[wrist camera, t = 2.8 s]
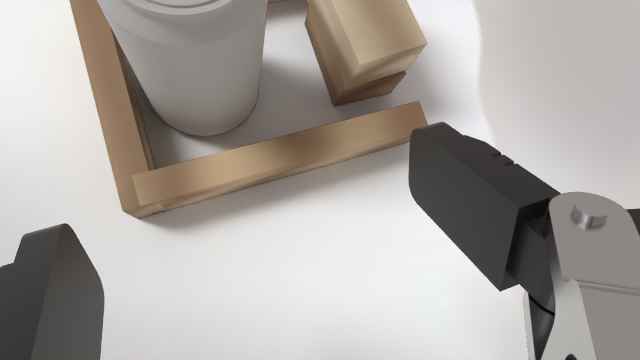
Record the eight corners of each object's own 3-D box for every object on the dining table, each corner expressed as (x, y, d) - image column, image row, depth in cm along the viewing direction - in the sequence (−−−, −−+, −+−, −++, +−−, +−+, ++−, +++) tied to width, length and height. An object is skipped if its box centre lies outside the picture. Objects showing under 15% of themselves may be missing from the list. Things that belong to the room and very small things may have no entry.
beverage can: (125, 94, 25) (23, -65, 13) (199, 21, 26) (166, -175, 15) (212, 161, 25) (186, 62, 13) (280, 84, 26) (309, -62, 15)
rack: (137, 218, 23) (122, 211, 20) (83, 10, 25) (63, -24, 22) (408, 142, 27) (428, 126, 24) (343, -33, 29) (355, -67, 26)
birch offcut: (346, 89, 24) (360, 64, 21) (305, -1, 25) (314, -37, 22) (406, 69, 25) (427, 43, 22) (365, -17, 26) (381, -53, 23)
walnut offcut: (332, 108, 27) (343, 88, 24) (304, 25, 28) (311, -4, 25) (389, 94, 28) (406, 73, 25) (359, 14, 29) (372, -15, 26)
